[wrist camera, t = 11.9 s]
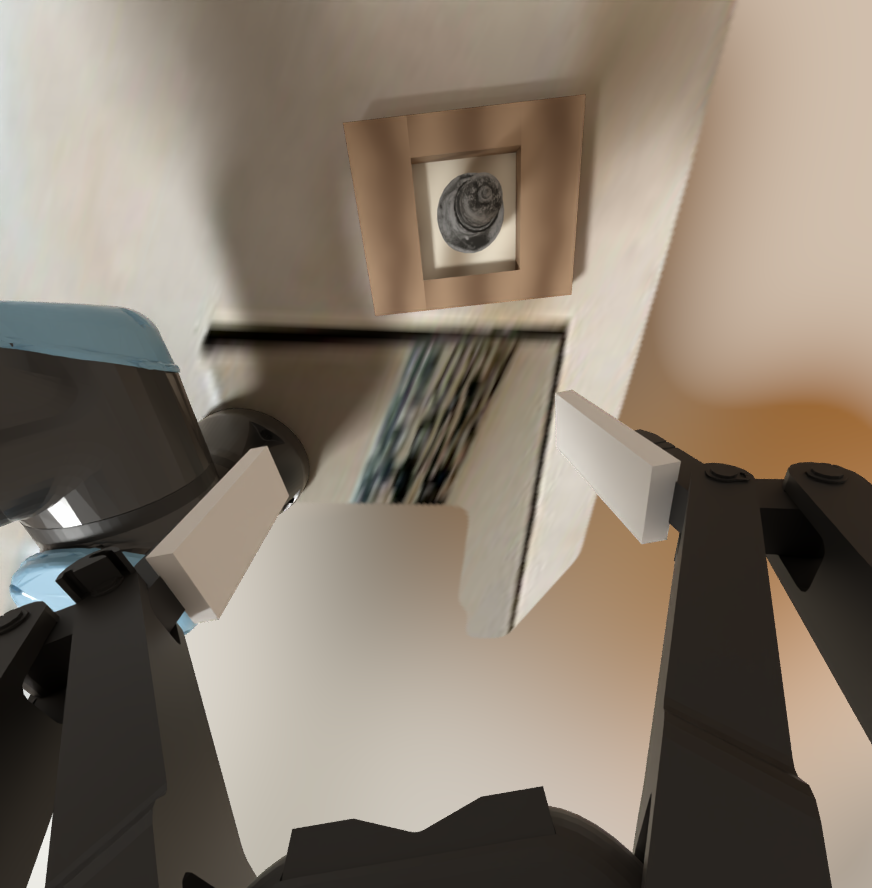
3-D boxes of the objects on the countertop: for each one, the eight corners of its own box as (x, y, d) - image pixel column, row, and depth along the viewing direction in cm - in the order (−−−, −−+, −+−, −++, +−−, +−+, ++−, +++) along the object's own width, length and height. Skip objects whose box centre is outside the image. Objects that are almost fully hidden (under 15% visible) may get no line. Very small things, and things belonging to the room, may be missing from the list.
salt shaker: (462, 167, 30) (483, 105, 20) (508, 215, 32) (551, 181, 21) (423, 227, 32) (423, 200, 22) (469, 269, 34) (490, 264, 23)
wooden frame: (379, 313, 37) (375, 316, 34) (350, 137, 30) (342, 122, 27) (559, 293, 37) (571, 294, 34) (570, 112, 30) (585, 94, 27)
